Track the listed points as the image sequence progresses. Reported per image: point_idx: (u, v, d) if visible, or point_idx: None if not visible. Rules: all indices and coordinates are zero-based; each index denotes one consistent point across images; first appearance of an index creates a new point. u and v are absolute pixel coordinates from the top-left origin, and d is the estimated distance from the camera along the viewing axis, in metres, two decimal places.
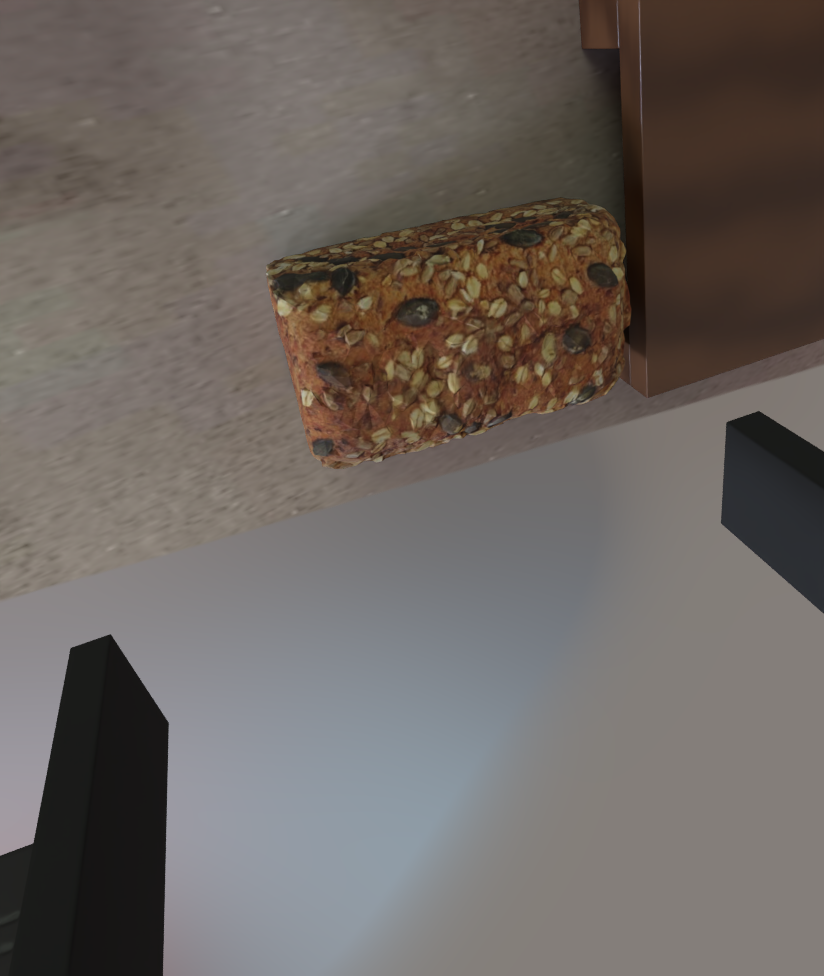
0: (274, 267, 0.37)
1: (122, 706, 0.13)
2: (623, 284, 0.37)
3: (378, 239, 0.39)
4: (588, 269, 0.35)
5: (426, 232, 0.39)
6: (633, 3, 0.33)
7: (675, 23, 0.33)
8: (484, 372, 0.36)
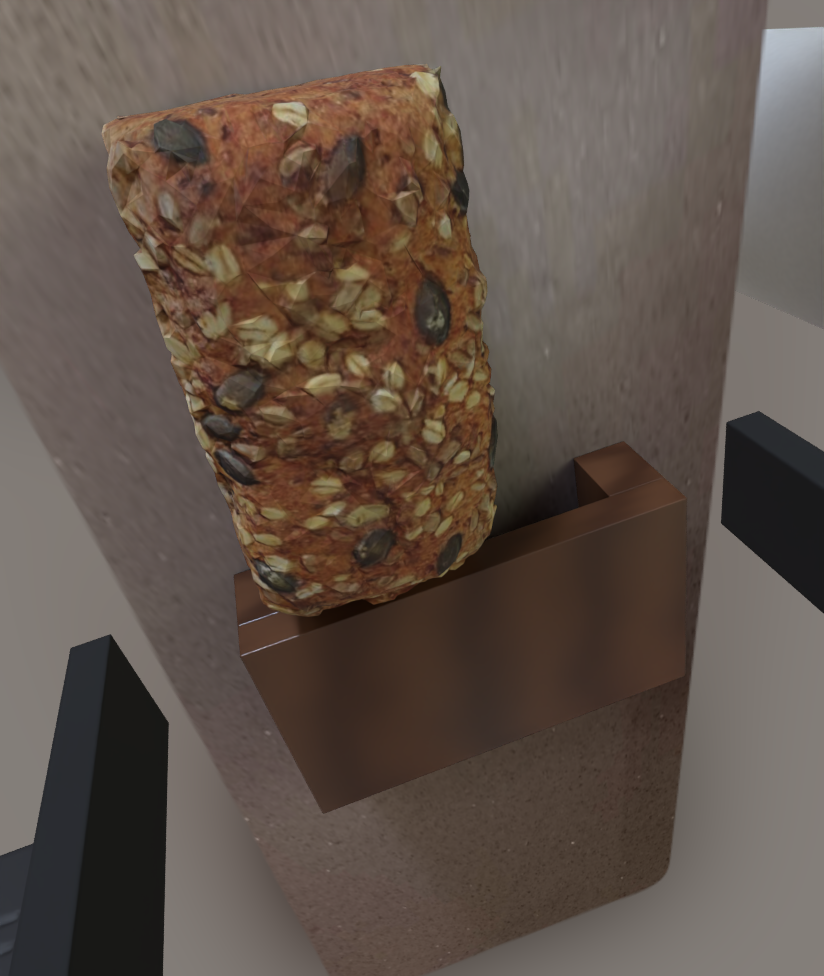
0: None
1: (122, 706, 0.13)
2: (425, 580, 0.29)
3: None
4: (457, 534, 0.27)
5: None
6: (659, 500, 0.34)
7: (643, 543, 0.34)
8: (340, 430, 0.23)
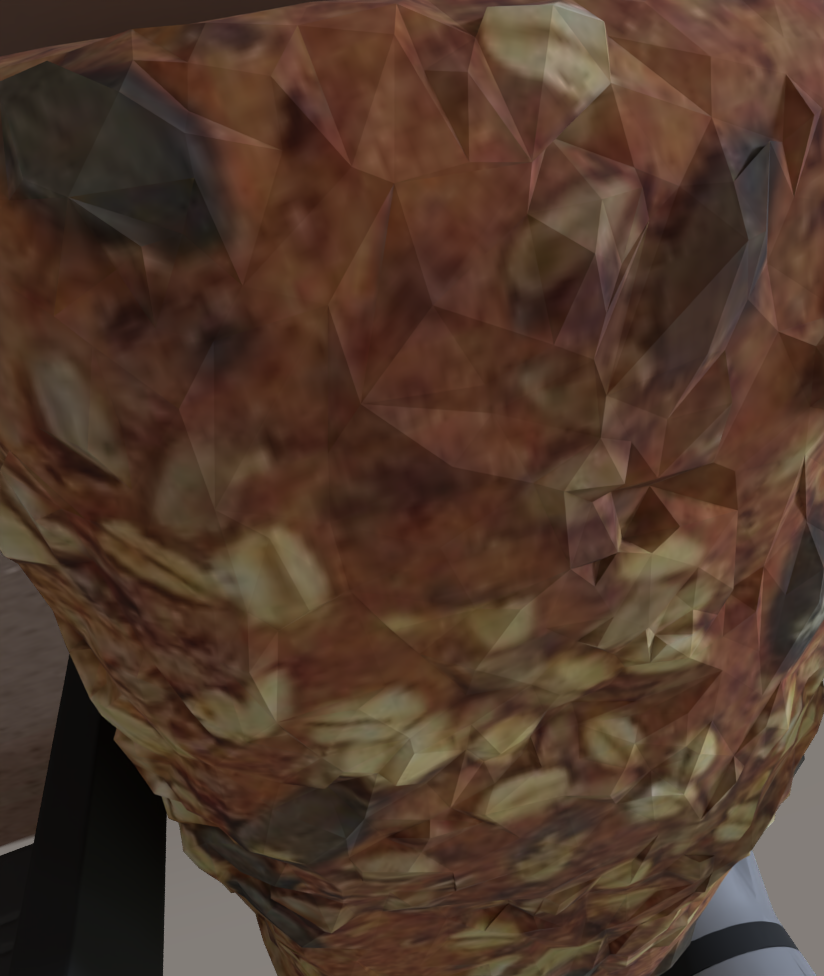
0: None
1: None
2: None
3: None
4: None
5: None
6: None
7: None
8: (542, 866, 0.09)
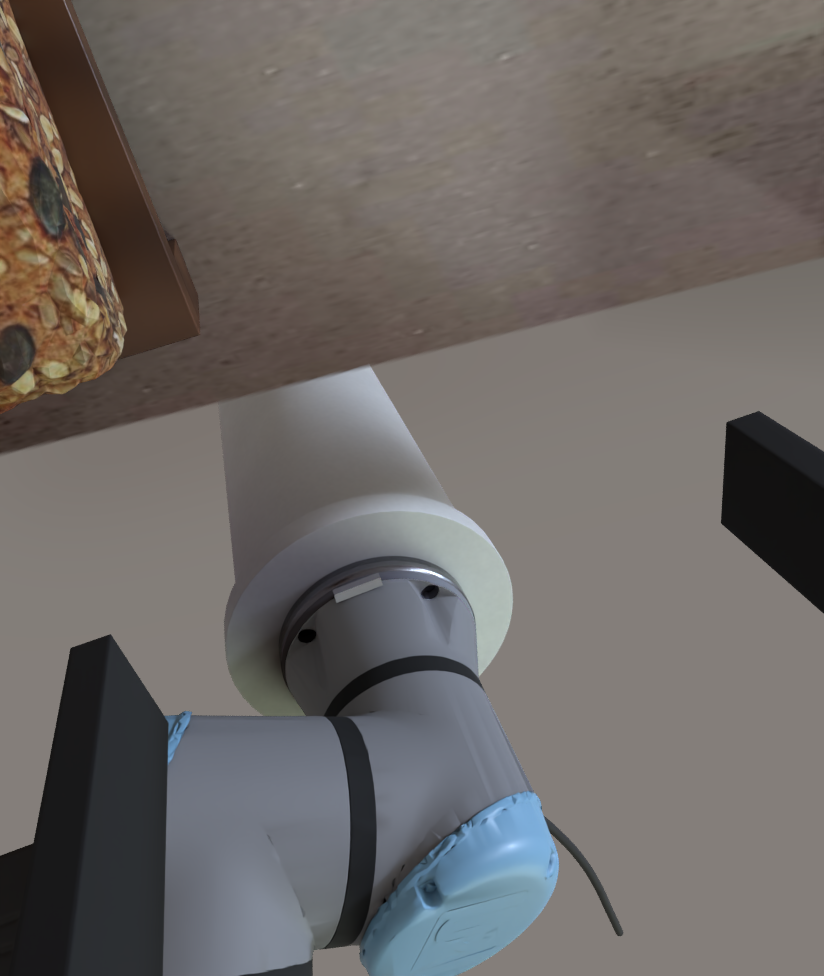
0: None
1: (122, 706, 0.13)
2: (7, 399, 0.23)
3: None
4: (18, 326, 0.21)
5: (23, 65, 0.23)
6: (190, 306, 0.31)
7: (137, 296, 0.30)
8: None
